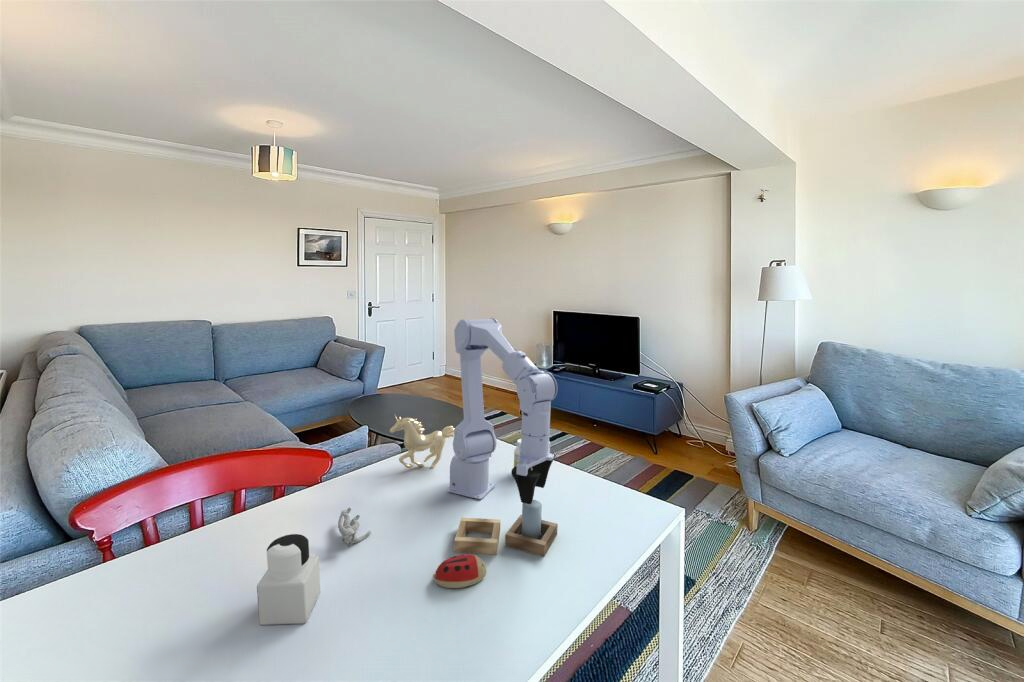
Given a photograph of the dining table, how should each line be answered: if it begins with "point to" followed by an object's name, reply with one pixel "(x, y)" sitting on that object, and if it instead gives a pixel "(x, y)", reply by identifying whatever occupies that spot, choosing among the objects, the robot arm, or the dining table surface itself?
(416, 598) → the dining table surface
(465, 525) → the light wooden square frame
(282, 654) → the dining table surface
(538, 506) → the thick gray cylindrical peg
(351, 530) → the grey branched piece
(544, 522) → the wooden square ring
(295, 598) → the white blocky bust figurine
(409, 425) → the unicorn
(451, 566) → the ladybug figurine
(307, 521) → the dining table surface
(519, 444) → the supplement bottle
